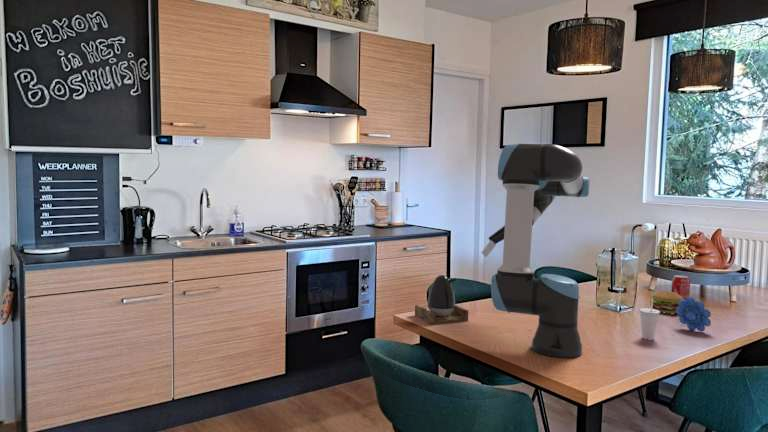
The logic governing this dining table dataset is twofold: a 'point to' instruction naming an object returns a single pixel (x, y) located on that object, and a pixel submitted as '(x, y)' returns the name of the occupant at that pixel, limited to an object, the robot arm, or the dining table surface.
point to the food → (666, 301)
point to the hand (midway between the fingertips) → (494, 257)
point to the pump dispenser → (441, 296)
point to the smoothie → (649, 321)
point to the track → (430, 317)
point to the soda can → (681, 286)
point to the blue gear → (693, 314)
